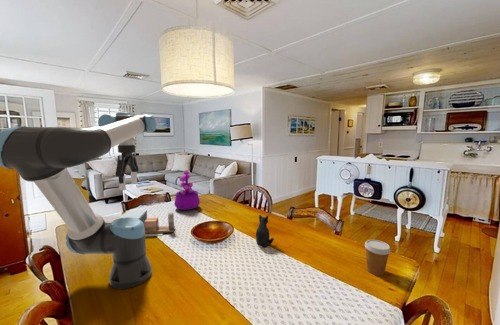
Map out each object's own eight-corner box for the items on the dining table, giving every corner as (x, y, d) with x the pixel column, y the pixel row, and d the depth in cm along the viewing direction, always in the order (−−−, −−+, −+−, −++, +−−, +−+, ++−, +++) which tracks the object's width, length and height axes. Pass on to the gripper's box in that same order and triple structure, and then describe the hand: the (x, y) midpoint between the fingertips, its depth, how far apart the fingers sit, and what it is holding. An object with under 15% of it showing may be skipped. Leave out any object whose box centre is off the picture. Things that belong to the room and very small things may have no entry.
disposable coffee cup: (388, 281, 89) (390, 252, 88) (361, 273, 94) (363, 246, 93) (388, 269, 97) (391, 242, 96) (364, 262, 102) (365, 237, 101)
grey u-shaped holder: (172, 232, 131) (172, 215, 130) (143, 233, 129) (142, 216, 128) (175, 227, 138) (174, 211, 137) (147, 228, 136) (146, 212, 135)
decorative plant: (186, 214, 163) (184, 173, 159) (169, 209, 173) (167, 170, 169) (204, 207, 178) (204, 169, 174) (188, 203, 188) (187, 167, 184)
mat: (162, 235, 129) (162, 235, 129) (143, 236, 127) (143, 235, 127) (166, 227, 140) (166, 227, 140) (149, 228, 138) (149, 227, 138)
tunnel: (167, 236, 128) (166, 217, 126) (104, 239, 123) (102, 219, 122) (172, 226, 141) (171, 209, 140) (115, 229, 137) (114, 211, 136)
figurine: (274, 241, 123) (275, 214, 121) (272, 250, 113) (273, 221, 111) (257, 239, 124) (257, 213, 123) (253, 248, 115) (253, 219, 113)
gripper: (122, 145, 100) (125, 192, 102) (143, 143, 125) (145, 181, 127) (104, 145, 99) (107, 192, 102) (129, 143, 124) (131, 182, 126)
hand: (128, 186), depth 114 cm, fingers open, 13 cm apart
